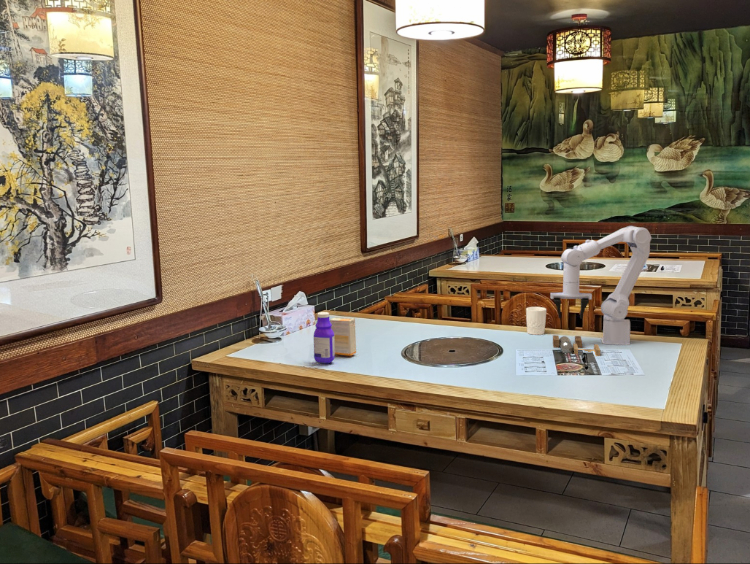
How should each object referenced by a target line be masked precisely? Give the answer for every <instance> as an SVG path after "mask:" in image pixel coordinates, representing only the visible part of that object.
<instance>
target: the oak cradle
mask: <svg viewBox="0 0 750 564" xmlns="http://www.w3.org/2000/svg"><path fill="white" fill-rule="evenodd" d="M572 347H573V351H574V352H573V355H574V354H577V355H578V350H585V351H588V352H591V351H594V352H595V355H596V356H595V357H601V349H600V345H599V344H598V343H596V344H594V345H593V349H591V348H590V349H588V348H578V346H577V344H575V343H572Z"/></svg>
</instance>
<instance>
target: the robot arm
mask: <svg viewBox="0 0 750 564" xmlns="http://www.w3.org/2000/svg"><path fill="white" fill-rule="evenodd" d="M651 241H652V236H651V233H650V232H649V230H648V229H647V228H646V227H639V226H638V227H637V226H635V225H628V226H626V227H623V228H620V229H618V230H616V231H614V232H612V233H611V234H608V235H606V236H604V237H602V238H600V239H598V240H593V239H591V240H590V239H586V240H585V241H584V242H583V243H582V244H579V245H574V246H573V247H572V248H567V249H565V250H564V251H563V252H562V254H561V256H560V260H561V261H562V264H563V273H562V274H563V275H562V278H563V279H562V282H563V283H562V292H550V299H551V300H553V302H554V305H555V306H556V310H557V315H558V319H562V314H561V311H562V310H561V308H562V307H561V306H562V305H561V303H562V302H561V300H562V299H563V300H564V299H565V300H566V299H568V300H571V299H572V300H573V299H574V300H580V311H579V318H580V319H581V320H583V319H584V318H583V316H584V313H585V311H586V308H587V306H588V304H589V300H592V299H593V298H592V297H593V295H592V293H589V292H586V293H585V292H580V275H581V273H580V271H581V270H580V267H581V266H580V265H581V264H582V263H583V261H586V260H588V259H590V258H592V257H595V256H597V255H599V254H600V252H601V250H603V249H605V248H608V247H611V246H613V245H616V244H618V243H620V242H623V243H626V244H627V245H628V247H630V250H631V252H632V255H631V257H630V259H629V261H628V262H627V264H626V266H625V269H624V270H623V273H622V275H621V277H620V278H619V281H618V284H617V285H616V287H615V289H614V291H613V292H612V293H610V294H609V295H608V296H607V298H606V299H605V300H603V302H602V303H601V305H600V311H601V313H602V314H603V326H602V327H603V329H602V337H600V341H601V343H602V345H615V346H616V345H617V346H619V345H622V346H624V345H626V346H630V345H631V321H630V319H625V318H626V317H627V315H628V310H629V306H630V301H629V297H630V295H631V293H632V291H633V288H634V286H635V285H636V283H637V281H638V279H639V277H640V275H641V272H642V271H643V269H644V267H645V264H646V263H647V260H648V259H649V257H650V254H651V252H650V250H651V249H650V248H651V247H650V246H651V245H650V244H651Z"/></svg>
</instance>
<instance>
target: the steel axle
mask: <svg viewBox="0 0 750 564" xmlns="http://www.w3.org/2000/svg"><path fill="white" fill-rule="evenodd" d="M559 348H560V351H561V352H562V354H563V353H572V354H574V352H573V343H572V342H571V340H570V338H569V336H561V337H559Z"/></svg>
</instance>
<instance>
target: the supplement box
mask: <svg viewBox="0 0 750 564" xmlns="http://www.w3.org/2000/svg"><path fill="white" fill-rule="evenodd" d="M330 323H331V324H332V326H331V329H332V330H333V332H334V342H335V355H342V356H349V357H350V356H353V355H355V354H356V353H357V336H356V335H357V333H356V318H353V317H338V316H337V317H333V318H330Z"/></svg>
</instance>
